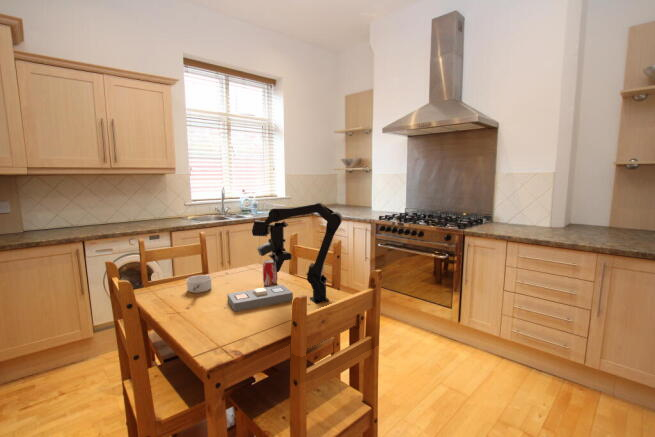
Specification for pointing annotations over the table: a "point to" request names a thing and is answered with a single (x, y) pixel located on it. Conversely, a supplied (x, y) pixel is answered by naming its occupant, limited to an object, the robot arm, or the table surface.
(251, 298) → the keypad
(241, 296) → the terracotta key
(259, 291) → the cream key
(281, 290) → the bluegrey key
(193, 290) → the light grey oval block
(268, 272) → the soda can
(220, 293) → the table surface
